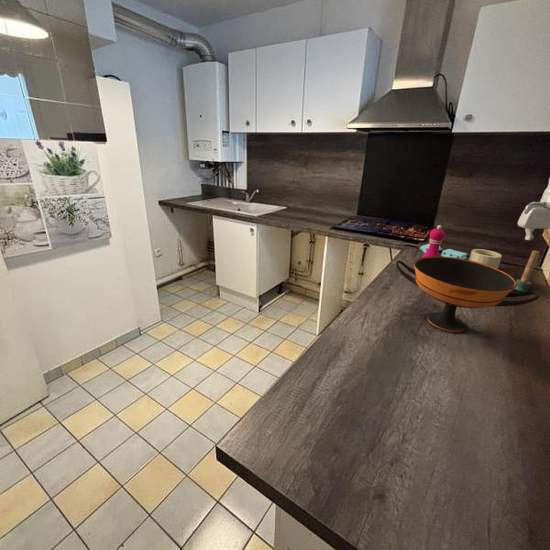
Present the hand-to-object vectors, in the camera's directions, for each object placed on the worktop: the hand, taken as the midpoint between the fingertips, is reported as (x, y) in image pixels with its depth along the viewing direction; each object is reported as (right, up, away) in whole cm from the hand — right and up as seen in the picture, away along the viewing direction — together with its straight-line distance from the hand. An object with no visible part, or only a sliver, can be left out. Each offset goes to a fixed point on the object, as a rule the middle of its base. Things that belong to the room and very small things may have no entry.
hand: (540, 240), depth 108 cm
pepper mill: (-27, -10, +27) cm, 40 cm away
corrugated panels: (-7, -5, +40) cm, 41 cm away
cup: (-45, -28, -17) cm, 56 cm away
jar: (-10, -14, +19) cm, 25 cm away
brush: (-1, -19, +8) cm, 20 cm away
